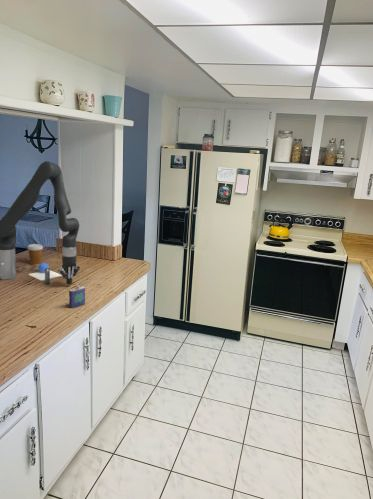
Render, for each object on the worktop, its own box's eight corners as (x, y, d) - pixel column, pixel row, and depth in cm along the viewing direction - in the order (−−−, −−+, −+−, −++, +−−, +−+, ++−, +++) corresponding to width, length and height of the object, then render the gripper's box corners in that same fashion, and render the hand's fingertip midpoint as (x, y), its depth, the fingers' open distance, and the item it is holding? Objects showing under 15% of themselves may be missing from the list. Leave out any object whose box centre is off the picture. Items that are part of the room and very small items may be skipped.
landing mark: (41, 280, 223) (41, 280, 223) (28, 274, 231) (28, 274, 231) (62, 275, 233) (62, 275, 233) (49, 270, 242) (49, 269, 242)
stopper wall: (19, 272, 233) (19, 268, 232) (17, 271, 234) (17, 267, 234) (46, 267, 247) (46, 263, 246) (44, 266, 248) (44, 262, 247)
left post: (46, 285, 217) (46, 269, 214) (44, 283, 218) (43, 268, 216) (50, 284, 219) (50, 268, 216) (48, 282, 220) (48, 267, 218)
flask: (83, 302, 197) (83, 282, 195) (86, 304, 196) (87, 284, 193) (67, 307, 190) (67, 286, 187) (71, 309, 188) (71, 288, 186)
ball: (37, 273, 236) (41, 273, 232) (36, 264, 236) (39, 263, 232) (47, 272, 240) (51, 271, 236) (45, 262, 240) (49, 261, 236)
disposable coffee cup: (27, 261, 255) (26, 244, 252) (42, 261, 259) (42, 243, 256) (28, 266, 246) (27, 247, 243) (44, 265, 250) (43, 247, 247)
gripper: (75, 251, 220) (75, 279, 224) (54, 254, 209) (54, 284, 214) (83, 253, 215) (83, 283, 219) (62, 257, 205) (62, 288, 209)
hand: (69, 284), depth 217 cm, fingers closed
